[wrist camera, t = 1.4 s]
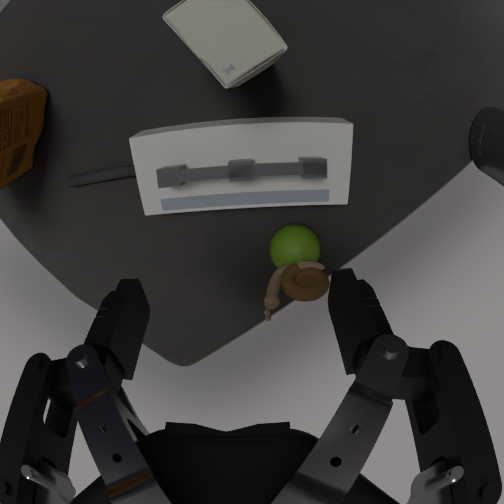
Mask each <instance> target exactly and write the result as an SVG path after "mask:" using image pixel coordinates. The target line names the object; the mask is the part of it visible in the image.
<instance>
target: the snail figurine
mask: <svg viewBox="0 0 504 504" xmlns="http://www.w3.org/2000/svg"><path fill="white" fill-rule="evenodd" d="M319 255H320V245H319V241H318V239H317V237H316V235H315V234H314V233H313V231H311V230H310V229H309V228H307V227H305V226H303V225H299V224H291V225H287V226H284V227H282V228H281V229H279V230H278V231H277V232H276V233H275V234H274V236H273V238H272V240H271V243H270V256H271V259H272V261H273V263H274V265H275V266H276V267H277V268H278V269H277V270H276V271H275V272H274V273H273V275H272V276H271V278H270V281H269V284H268V288H267V293H266V297H265V298H264V306H265V307H266V310H265V311H264V313H265V315H266V316H265V319H266V320H267V321H270V320H271V316H270V310H268V309H275V308H277V307H278V305H279V303H280V300H279V297H278V294H279V290H280V287H281V288H282V290H283V292H284V293H285V294H286V295H287V296H289V297H290V298H292V299H294V300H298V301H313V300H316V299H319V298H320V297H322V296H323V295H324V294H325V293H326V292H327V291H328V288H329V279H328V277H327V275H326V274H325V273H324V272H322V271H320V270H323V269H325V266H324V265H322V264H320V263H318V262H317V261H318V258H319Z"/></svg>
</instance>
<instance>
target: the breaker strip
mask: <svg viewBox="0 0 504 504" xmlns="http://www.w3.org/2000/svg"><path fill="white" fill-rule="evenodd" d="M352 139H353V124H352V123H350V122H349V121H347V120H345V119H343V118H331V117H264V118H244V119H230V120H218V121H208V122H199V123H190V124H182V125H175V126H168V127H162V128H155V129H150V130H144V131H141V132H139V133H137V134H136V135H134V136H132V137H131V138H129V141H130V147H131V152H132V157H133V162H134V165H130V166H124V167H118V168H112V169H107V170H102V171H96V172H91V173H87V174H82V175H77V176H73V177H69V178H68V179H67V181H66V184H67V186H68V187H74V186H79V185H84V184H90V183H95V182H101V181H107V180H112V179H119V178H125V177H132V176H136V177H137V182H138V186H139V191H140V195H141V199H142V204H143V208H144V212H145V215H156V214H167V213H178V212H191V211H204V210H219V209H234V208H252V207H272V206H296V205H330V204H347V203H348V193H349V182H350V170H351V156H352ZM298 157H322V158H326V159H327V178H304V179H303V178H302V177H301V176H300V175H281V176H258V177H254V180H251V181H235V182H229V178H225V179H212V180H200V181H189V182H186V183H184V184H183V185H181V186H175V187H166V188H158V182H157V173H156V170H157V169H159V168H162V167H165V166H173V165H181V164H185V165H186V169H190V168H200V167H211V166H223V165H228V162H229V161H230V160H238V159H253V164H255V163H278V162H299V161H298Z"/></svg>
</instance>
